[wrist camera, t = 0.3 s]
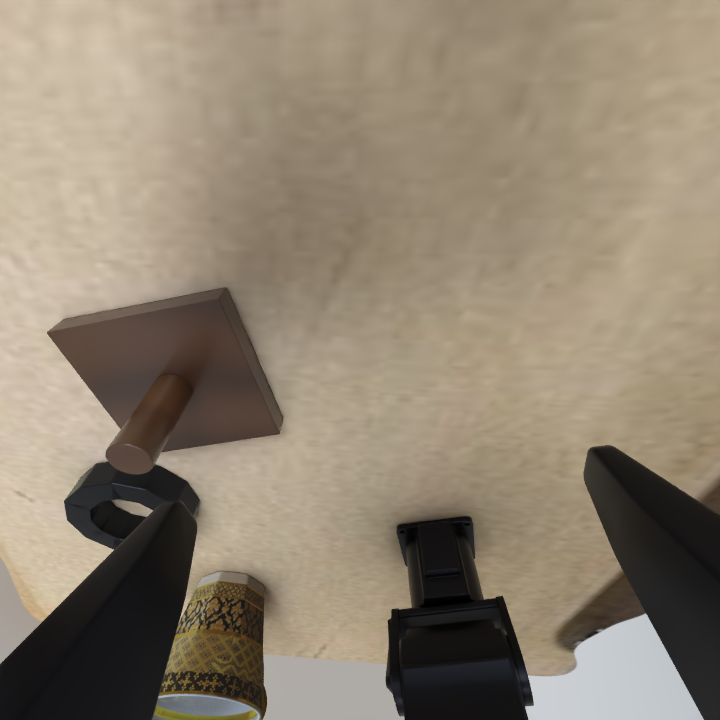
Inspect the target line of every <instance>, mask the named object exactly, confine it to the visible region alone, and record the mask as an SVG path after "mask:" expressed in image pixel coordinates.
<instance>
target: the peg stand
mask: <svg viewBox="0 0 720 720" xmlns="http://www.w3.org/2000/svg"><path fill="white" fill-rule="evenodd" d="M47 334H48V335H49V336H50V338H51V339H52V340H53V342H54V343H55V344H56V346H57V347H58V348H59V349H60V351H61V352H62V353H63V355H64V356H65V357H66V359H67V360H68V361H69V362H70V364H71V365H72V366H73V368H74V369H75V370H76V372H77V373H78V374H79V375H80V377H81V378H82V379H83V381H84V382H85V383H86V385H87V386H88V387H89V388H90V390H91V391H92V392H93V394H94V395H95V396H96V398H97V399H98V400H99V401H100V403H101V404H102V405H103V407H104V408H105V409H106V411H107V412H108V413H109V414H110V416H111V417H112V418H113V420H114V421H115V422H116V424H117V425H118V426H119V427H120V429H121V430H120V432H119V433H118V434H117V436H116V437H115V439H114V440H113V441H112V443H111V444H110V446H109V447H108V449H107V450H106V458H107V460H108V462H109V463H110V464H111V465H112V466H113V467H115V468H116V469H118V470H120V471H122V472H125V473H129V474H144V473H147V472H148V471H150V470H151V469H152V468H153V466H154V464H155V463H156V461H157V459H158V457H159V455H160V453H161V452H165V451H172V450H178V449H185V448H192V447H198V446H205V445H211V444H218V443H225V442H231V441H238V440H245V439H251V438H258V437H264V436H271V435H278V434H280V430H281V426H282V421H283V418H282V415H281V413H280V411H279V408H278V406H277V404H276V401H275V399H274V397H273V394H272V392H271V390H270V387H269V385H268V383H267V380H266V378H265V376H264V373H263V371H262V369H261V366H260V364H259V362H258V359H257V357H256V355H255V352H254V350H253V348H252V345H251V343H250V341H249V338H248V336H247V334H246V331H245V329H244V327H243V324H242V322H241V320H240V317H239V315H238V313H237V310H236V308H235V306H234V303H233V301H232V299H231V296H230V294H229V292H228V289H227V288H221V289H216V290H211V291H206V292H201V293H196V294H191V295H186V296H180V297H175V298H170V299H165V300H160V301H155V302H150V303H145V304H140V305H135V306H130V307H125V308H120V309H115V310H110V311H105V312H100V313H94V314H89V315H84V316H79V317H74V318H69V319H64V320H62V321H61V322H60V323H58V324H57V325H56V326H54V327H53V328H52V329H50V330H49V331H48V332H47Z"/></svg>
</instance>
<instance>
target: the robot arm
mask: <svg viewBox="0 0 720 720" xmlns="http://www.w3.org/2000/svg"><path fill="white" fill-rule="evenodd" d="M584 481H585V484H586V487H587V489H588V491H589V494H590V496H591V499H592V501H593V504H594V506H595V508H596V511H597V513H598V516H599V518H600V520H601V523H602V525H603V528H604V530H605V532H606V535H607V537H608V540H609V542H610V544H611V547H612V549H613V551H614V554H615V556H616V558H617V560H618V562H619V564H620V566H621V568H622V569H623V571H624V573H625V575H626V577H627V579H628V581H629V582H630V584H631V586H632V588H633V590H634V592H635V593H636V595H637V597H638V599H639V601H640V603H641V604H642V606H643V608H644V610H645V612H646V614H647V615H648V617H649V619H650V621H651V623H652V625H653V627H654V628H655V630H656V632H657V634H658V636H659V637H660V639H661V641H662V643H663V645H664V647H665V649H666V650H667V652H668V654H669V656H670V658H671V660H672V661H673V663H674V665H675V667H676V669H677V671H678V672H679V674H680V676H681V678H682V680H683V681H684V684H685V685H686V687H687V689H688V691H689V693H690V695H691V696H692V698H693V700H694V702H695V704H696V706H697V707H698V709H699V711H700V713H701V715H702V717H703V719H704V720H720V515H719V514H717V513H716V512H714V511H713V510H711V509H709V508H708V507H706V506H705V505H703V504H702V503H700V502H699V501H697V500H696V499H694V498H692V497H691V496H689V495H688V494H686V493H685V492H683V491H682V490H680V489H679V488H677V487H676V486H674V485H672V484H671V483H669V482H668V481H666V480H665V479H663V478H662V477H660V476H659V475H657V474H656V473H654V472H652V471H651V470H649V469H648V468H646V467H645V466H643V465H642V464H640V463H639V462H637V461H635V460H634V459H632V458H631V457H629V456H628V455H626V454H625V453H623V452H622V451H620V450H619V449H617V448H615V447H613V446H610V445H605V446H597V447H591V448H590V449H589V450H588V453H587V458H586V463H585V468H584ZM196 534H197V522H196V520H195V518H194V517H193V515H192V514H191V513H190V511H189V510H188V508H187V507H186V506H185V504H184V503H183V502H182V501H180V500H175V501H168V502H163V503H161V504H160V505H159V506H158V507H157V508H156V509H155V510H154V511H153V512H152V513H151V514H150V515H149V516H148V517H147V518H146V519H145V520H144V521H143V522H142V523H141V524H140V525H139V526H138V527H137V528H136V529H135V530H134V531H133V532H132V533H131V534H130V535H129V536H128V537H127V538H126V539H125V540H124V541H123V542H122V543H121V544H120V545H119V546H118V547H117V548H116V549H115V550H114V551H113V552H112V553H111V554H110V555H109V556H108V557H107V558H106V559H105V560H104V561H103V562H102V563H101V564H100V565H99V566H98V567H97V568H96V569H95V570H94V571H93V572H92V573H91V574H90V575H89V576H88V577H87V578H86V579H85V580H84V581H83V582H82V583H81V584H80V585H79V586H78V587H77V588H76V589H75V590H74V591H73V592H72V593H71V594H70V595H69V596H68V597H67V598H66V599H65V600H64V601H63V602H62V603H61V604H60V605H59V606H58V607H57V608H56V609H55V610H54V611H53V612H52V613H51V614H50V615H49V616H48V617H47V618H46V619H45V620H44V621H43V622H42V623H41V624H40V625H39V626H38V627H37V628H36V629H35V630H34V631H33V632H32V633H31V634H30V635H29V636H28V637H27V638H26V639H25V640H24V641H23V642H22V643H21V644H20V645H19V646H18V647H17V648H16V649H15V650H14V651H13V652H12V653H11V654H10V655H9V656H8V657H7V658H6V659H5V660H4V661H3V662H2V663H1V664H0V720H152V719H153V715H154V712H155V708H156V704H157V701H158V697H159V693H160V690H161V686H162V682H163V679H164V675H165V671H166V668H167V664H168V660H169V657H170V653H171V649H172V646H173V642H174V638H175V635H176V631H177V627H178V624H179V620H180V616H181V613H182V609H183V605H184V601H185V596H186V591H187V586H188V580H189V575H190V569H191V563H192V557H193V551H194V546H195V540H196ZM397 535H398V539H399V542H400V546H401V550H402V554H403V558H404V562H405V565H406V566H407V567H408V575H409V585H410V595H411V604H412V608H409V609H400V610H399V609H392V611H391V619H389V620H388V633H389V650H388V660H387V670H386V686H387V688H388V689H389V690H390V691H391V693H392V694H393V697H394V701H395V703H396V707H397V711H398V714H399V716H404V717H405V720H528V717H527V713H526V709H525V706H533V705H534V704H533V696H532V692H531V687H530V683H529V679H528V675H527V671H526V667H525V664H524V660H523V657H522V654H521V650H520V647H519V644H518V641H517V638H516V635H515V632H514V629H513V626H512V623H511V620H510V617H509V613H508V610H507V607H506V604H505V601H504V598H503V596H499V597H496V598H493V599H485V600H484V598H483V594H482V590H481V586H480V582H479V578H478V574H477V570H476V566H475V562H474V559H475V549H474V534H473V522H472V519H471V518H470V517H458V518H450V519H441V520H433V521H425V522H417V523H408V524H401V525H398V526H397Z"/></svg>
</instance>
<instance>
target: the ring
mask: <svg viewBox="0 0 720 720" xmlns="http://www.w3.org/2000/svg"><path fill="white" fill-rule="evenodd" d="M116 499H120V500H125V501H131V502H136V503H140V504H142V505H144V506H146V507H148V508H150V509H152V510H155V509H156V508H157V507H158V506H159V505H160V504H161V503H163V502H168V501H175V500H180V501H182V502H183V503H184V504H185V506H186V507H187V508H188V510H189V511H190V513H191V514H192V515H193V517H194V518H195V520H196V517H197V512H198V506H199V499H198V497H197V496H196V494H195V493H194V492H193V490H192V489H191V487H190V486H189V485H188V483H187V482H186V481H185V480H183V479H181V478H180V477H178V476H176V475H174V474H172V473H171V472H169V471H167V470H165V469H164V468H162V467H160V466H156V465H154V466H153V468H152V469H151V470H150V471H148V472H147V473H144V474H129V473H125V472H122V471H120V470H118V469H116V468H115V467H113V466H112V465H111V464H110V463H109V462H105V463H99V464H96V465H94V466H93V467H92V468H91V469H90V470H89V471H88V472H87V473H86V474H84V475H83V476H82V477H81V478H80V480H79V481H78V482H77V484H76V485H75V487H74V488H73V489H72V491H71V492H70V494H69V495H68V496H67V498H66V499H65V501H64V504H65V510H66V516H67V520H68V521H69V522H70V523H71V524H72V525H73V526H74V527H75V528H76V529H77V530H78V531H79V532H80V533H82V534H83V535H84V536H85V537H86V538H88V539H91V540H93V541H95V542H98V543H100V544H102V545H105V546H107V547H109V548H112V549H114V550H115V549H116V548H117V547H118V546H119V545H120V544H121V543H122V542H123V541H124V540H125V539H126V538H127V537H128V536H129V535H130V534H131V533H132V532H133V531H134V530H135V529H136V528H137V527H138V526H139V525H140V524H141V523H142V522H143V521H144V520H145V519H146V518H147V517H141V516H135V515H131V514H129V513H127V512H125V511H123V510H121V509H119V508H117V507H116V506H115V505H114V504H113V503H112V502H111V501H110V500H116Z"/></svg>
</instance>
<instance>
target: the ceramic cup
mask: <svg viewBox="0 0 720 720" xmlns="http://www.w3.org/2000/svg"><path fill="white" fill-rule="evenodd" d="M264 592H265V589H264V586H263V585H262V584H261V583H259V582H258V581H257V580H255V579H254V578H252V577H251V576H249V575H248V574H241V573H234V572H226V571H219V572H216V573H213V574H210V575H207V576H204V577H203V578H202V579H201V580H200V582H199V584H198V586H197V588H196V590H195V592H194V594H193V596H192V598H191V600H190V602H189V604H188V606H187V608H186V610H185V612H184V614H183V616H182V618H181V620H180V622H179V624H178V627H177V631H176V635H175V638H174V642H173V646H172V649H171V653H170V657H169V660H168V664H167V668H166V671H165V675H164V679H163V682H162V686H161V690H160V693H159V697H158V701H157V704H156V708H155V712H154V715H153V719H152V720H263V718H264V715H265V712H266V707H267V696H266V690H265V687H264V684H263V683H264V679H263V678H264V663H263V625H264Z"/></svg>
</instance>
